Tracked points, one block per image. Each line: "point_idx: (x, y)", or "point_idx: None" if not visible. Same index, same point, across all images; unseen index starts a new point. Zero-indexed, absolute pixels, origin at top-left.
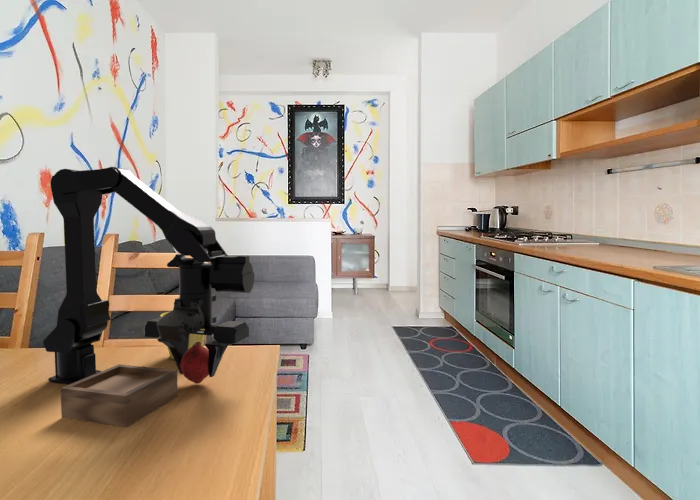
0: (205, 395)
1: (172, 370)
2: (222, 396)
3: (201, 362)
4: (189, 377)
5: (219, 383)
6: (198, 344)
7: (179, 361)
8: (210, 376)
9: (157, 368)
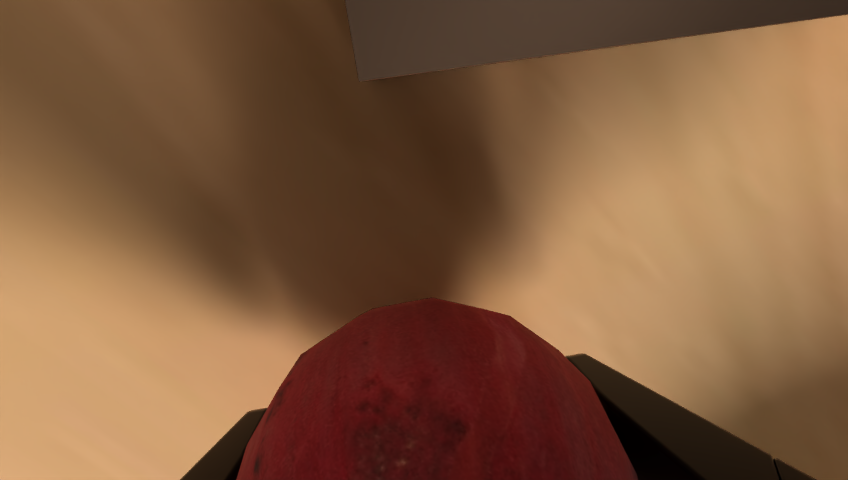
0: (176, 210)
1: (427, 25)
2: (26, 252)
3: None
4: (406, 302)
5: None
6: None
7: (650, 437)
8: (255, 411)
9: (792, 12)
